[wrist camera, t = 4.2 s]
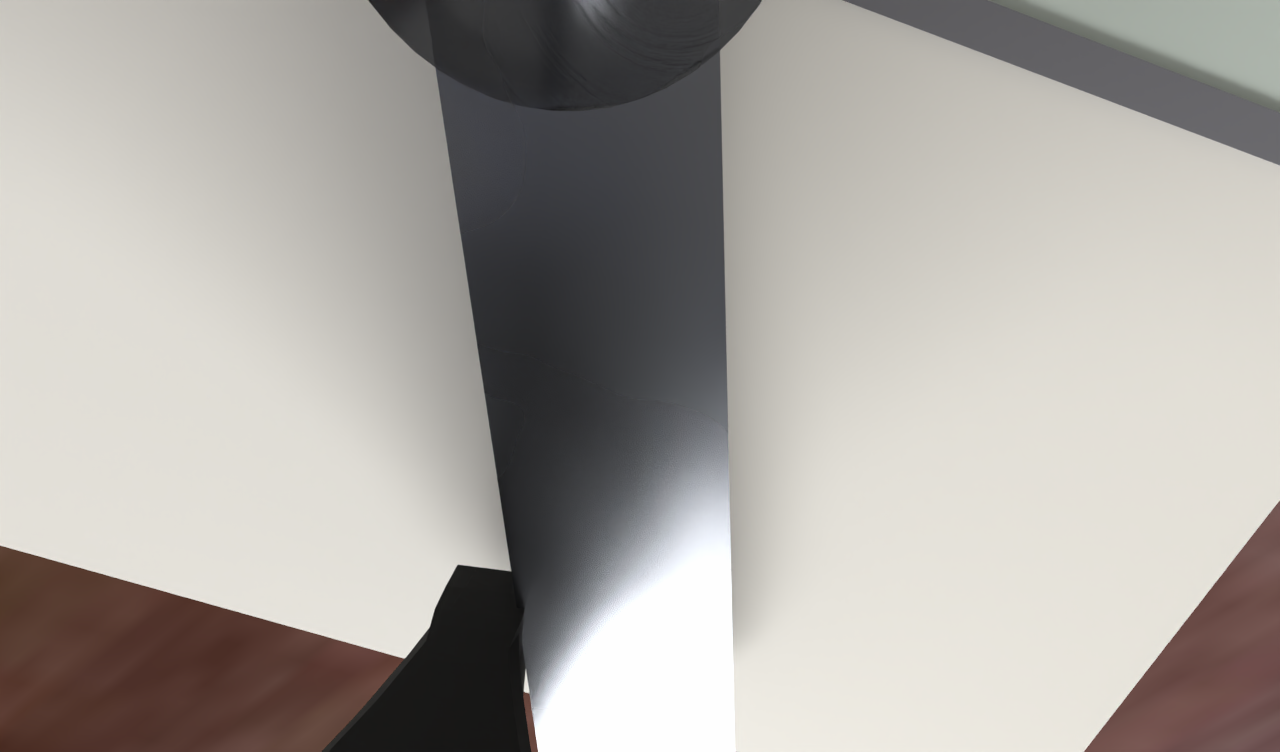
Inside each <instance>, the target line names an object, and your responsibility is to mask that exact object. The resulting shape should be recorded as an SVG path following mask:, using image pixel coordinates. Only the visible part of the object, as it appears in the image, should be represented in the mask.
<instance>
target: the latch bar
mask: <svg viewBox="0 0 1280 752" xmlns="http://www.w3.org/2000/svg"><path fill="white" fill-rule="evenodd" d="M368 1H369V2H370V3H371V5H372V6H373V7H374V8H375V10H376V11H377V12H378V13H379V15H380V16H381V17H382V18H383V19H384V21H385V22H386V23H387V24H388V26H389V27H390V28H391V29H392V30H393V31H394V32H395V33H396V34H397V35H398V36H399V37H400V38H401V39H402V40H403V41H404V42H405V43H406V44H407V45H408V46H409V47H410V48H411V49H412V50H413V51H414V52H416V53H417V54H418V55H420V56H421V57H422V58H424V59H425V60H426V61H427V62H429V63H430V64H431V65H433V66H434V67H435V68H436V75H437V81H438V88H439V95H440V101H441V108H442V115H443V121H444V128H445V135H446V141H447V148H448V155H449V161H450V168H451V174H452V181H453V188H454V194H455V201H456V208H457V214H458V221H459V228H460V234H461V241H462V248H463V254H464V261H465V268H466V274H467V281H468V287H469V294H470V301H471V307H472V314H473V321H474V327H475V334H476V341H477V347H478V354H479V361H480V367H481V374H482V380H483V387H484V394H485V400H486V407H487V414H488V420H489V427H490V434H491V440H492V447H493V454H494V460H495V467H496V474H497V480H498V487H499V493H500V500H501V507H502V513H503V520H504V527H505V533H506V540H507V547H508V553H509V560H510V567H511V573H512V580H513V586H514V593H515V600H516V606H517V608H522V609H525V611H524V622H523V632H522V646H523V653H524V660H525V666H526V673H527V680H528V686H529V693H530V699H531V706H532V713H533V719H534V726H535V733H536V739H537V746H538V752H735V723H734V677H733V630H732V584H731V538H730V491H729V445H728V399H727V353H726V306H725V260H724V214H723V167H722V121H721V75H720V50H721V49H722V48H723V47H724V46H725V45H726V44H727V43H728V42H729V41H730V40H731V39H732V38H733V37H734V36H735V35H736V34H737V33H738V32H739V31H740V29H741V28H742V27H743V26H744V24H745V23H746V22H747V20H748V19H749V18H750V17H751V15H752V14H753V13H754V11H755V10H756V9H757V7H758V6H759V5H760V3H761V1H762V0H368Z"/></svg>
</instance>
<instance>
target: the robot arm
mask: <svg viewBox="0 0 1280 752" xmlns="http://www.w3.org/2000/svg"><path fill="white" fill-rule="evenodd" d="M524 611H525V609H522V608H517V606H516V600H515V593H514V586H513V580H512V573H511V571H505V570H497V569H489V568H481V567H473V566H465V565H457V567H456V569H455V570H454V572H453V574H452V576H451V578H450V579H449V581H448V583H447V585H446V587H445V589H444V591H443V593H442V595H441V597H440V599H439V601H438V603H437V605H436V607H435V610H434V614H433V617H432V621H431V624H430V627H429V629H428V630H427V631H426V633H425V634H424V635H423V636H422V638H421V639H420V640H419V641H418V643H417V644H416V645H415V647H414V648H413V649H412V650H411V652H410V653H409V654H408V655H407V657H406V658H405V659H404V660H403V661H402V662H401V664H400V665H399V666H398V667H397V668H396V670H395V671H394V672H393V673H392V674H391V675H390V677H389V678H388V679H387V680H386V681H385V682H384V684H383V685H382V686H381V687H380V688H379V689H378V691H377V692H376V693H375V694H374V695H373V697H372V698H371V699H370V700H369V701H368V702H367V704H366V705H365V706H364V707H363V708H362V709H361V710H360V711H359V713H358V714H357V715H356V716H355V717H354V718H353V719H352V720H351V721H350V722H349V723H348V725H347V726H346V727H345V728H344V729H343V730H342V731H341V732H340V733H339V734H338V735H337V736H336V737H335V738H334V739H333V740H332V741H331V742H330V743H329V744H328V745H327V746H326V748H325V749H324V750H323V751H322V752H531V748H530V742H529V735H528V728H527V721H526V714H525V707H524V700H523V692H524V682H525V672H526V666H525V660H524V653H523V646H522V632H523V622H524Z"/></svg>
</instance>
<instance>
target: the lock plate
mask: <svg viewBox="0 0 1280 752" xmlns="http://www.w3.org/2000/svg"><path fill="white" fill-rule="evenodd" d="M720 75H721V121H722V167H723V214H724V260H725V306H726V353H727V399H728V445H729V491H730V538H731V584H732V630H733V677H734V723H735V751H737V752H1084V750H1085V749H1086V748H1087V747H1088V745H1089V744H1090V743H1091V741H1092V740H1093V739H1094V738H1095V736H1096V735H1097V734H1098V732H1099V731H1100V730H1101V729H1102V727H1103V726H1104V725H1105V723H1106V722H1107V721H1108V720H1109V718H1110V717H1111V716H1112V715H1113V713H1114V712H1115V711H1116V709H1117V708H1118V707H1119V706H1120V704H1121V703H1122V702H1123V700H1124V699H1125V698H1126V697H1127V695H1128V694H1129V693H1130V691H1131V690H1132V689H1133V688H1134V686H1135V685H1136V684H1137V682H1138V681H1139V680H1140V679H1141V677H1142V676H1143V675H1144V673H1145V672H1146V671H1147V670H1148V668H1149V667H1150V666H1151V664H1152V663H1153V662H1154V661H1155V659H1156V658H1157V657H1158V656H1159V654H1160V653H1161V652H1162V650H1163V649H1164V648H1165V647H1166V645H1167V644H1168V643H1169V641H1170V640H1171V639H1172V638H1173V636H1174V635H1175V634H1176V632H1177V631H1178V630H1179V629H1180V627H1181V626H1182V625H1183V623H1184V622H1185V621H1186V620H1187V618H1188V617H1189V616H1190V614H1191V613H1192V612H1193V611H1194V609H1195V608H1196V607H1197V606H1198V604H1199V603H1200V602H1201V600H1202V599H1203V598H1204V597H1205V595H1206V594H1207V593H1208V591H1209V590H1210V589H1211V588H1212V586H1213V585H1214V584H1215V582H1216V581H1217V580H1218V579H1219V577H1220V576H1221V575H1222V573H1223V572H1224V571H1225V570H1226V568H1227V567H1228V566H1229V564H1230V563H1231V562H1232V561H1233V559H1234V558H1235V557H1236V555H1237V554H1238V553H1239V552H1240V550H1241V549H1242V548H1243V547H1244V545H1245V544H1246V543H1247V541H1248V540H1249V539H1250V538H1251V536H1252V535H1253V534H1254V532H1255V531H1256V530H1257V529H1258V527H1259V526H1260V525H1261V523H1262V522H1263V521H1264V520H1265V518H1266V517H1267V516H1268V514H1269V513H1270V512H1271V511H1272V509H1273V508H1274V507H1275V505H1276V504H1277V503H1278V502H1279V500H1280V0H762V1H761V3H760V5H759V6H758V7H757V9H756V10H755V11H754V13H753V14H752V15H751V17H750V18H749V19H748V20H747V22H746V23H745V24H744V26H743V27H742V28H741V29H740V31H739V32H738V33H737V34H736V35H735V36H734V37H733V38H732V39H731V40H730V41H729V42H728V43H727V44H726V45H725V46H724V47H723V48H722V49H721V50H720ZM0 545H1V546H4V547H8V548H11V549H15V550H19V551H22V552H26V553H29V554H33V555H36V556H40V557H44V558H47V559H51V560H54V561H58V562H62V563H65V564H69V565H72V566H76V567H79V568H83V569H87V570H90V571H94V572H97V573H101V574H104V575H108V576H112V577H115V578H119V579H122V580H126V581H129V582H133V583H137V584H140V585H144V586H147V587H151V588H154V589H158V590H162V591H165V592H169V593H172V594H176V595H179V596H183V597H187V598H190V599H194V600H197V601H201V602H204V603H208V604H212V605H215V606H219V607H222V608H226V609H229V610H233V611H237V612H240V613H244V614H247V615H251V616H255V617H258V618H262V619H265V620H269V621H272V622H276V623H280V624H283V625H287V626H290V627H294V628H297V629H301V630H305V631H308V632H312V633H315V634H319V635H322V636H326V637H330V638H333V639H337V640H340V641H344V642H347V643H351V644H355V645H358V646H362V647H365V648H369V649H372V650H376V651H380V652H383V653H387V654H390V655H394V656H397V657H401V658H406V657H407V655H408V654H409V653H410V652H411V650H412V649H413V648H414V647H415V645H416V644H417V643H418V641H419V640H420V639H421V638H422V636H423V635H424V634H425V633H426V631H427V630H428V629H429V627H430V624H431V621H432V617H433V614H434V610H435V607H436V605H437V603H438V601H439V599H440V597H441V595H442V593H443V591H444V589H445V587H446V585H447V583H448V581H449V579H450V578H451V576H452V574H453V572H454V570H455V569H456V567H457V565H465V566H473V567H481V568H489V569H497V570H505V571H511V567H510V560H509V553H508V547H507V540H506V533H505V527H504V520H503V513H502V507H501V500H500V493H499V487H498V480H497V474H496V467H495V460H494V454H493V447H492V440H491V434H490V427H489V420H488V414H487V407H486V400H485V394H484V387H483V380H482V374H481V367H480V361H479V354H478V347H477V341H476V334H475V327H474V321H473V314H472V307H471V301H470V294H469V287H468V281H467V274H466V268H465V261H464V254H463V248H462V241H461V234H460V228H459V221H458V214H457V208H456V201H455V194H454V188H453V181H452V174H451V168H450V161H449V155H448V148H447V141H446V135H445V128H444V121H443V115H442V108H441V101H440V95H439V88H438V81H437V75H436V68H435V67H434V66H433V65H431V64H430V63H429V62H427V61H426V60H425V59H424V58H422V57H421V56H420V55H418V54H417V53H416V52H414V51H413V50H412V49H411V48H410V47H409V46H408V45H407V44H406V43H405V42H404V41H403V40H402V39H401V38H400V37H399V36H398V35H397V34H396V33H395V32H394V31H393V30H392V29H391V28H390V27H389V26H388V24H387V23H386V22H385V21H384V19H383V18H382V17H381V16H380V15H379V13H378V12H377V11H376V10H375V8H374V7H373V6H372V5H371V3H370V2H369V1H368V0H0ZM524 692H526V693H529V686H528V680H527V673H526V672H525V682H524Z"/></svg>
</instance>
